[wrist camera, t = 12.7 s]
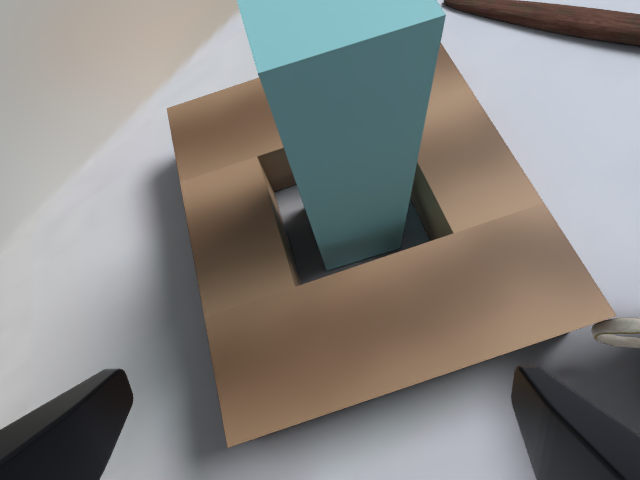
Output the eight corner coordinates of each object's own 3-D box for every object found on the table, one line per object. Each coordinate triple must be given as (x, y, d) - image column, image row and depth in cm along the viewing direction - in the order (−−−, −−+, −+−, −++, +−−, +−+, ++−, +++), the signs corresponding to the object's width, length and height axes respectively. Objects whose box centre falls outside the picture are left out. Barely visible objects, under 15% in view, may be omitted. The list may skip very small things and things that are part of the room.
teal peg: (400, 248, 20) (445, 14, 8) (326, 270, 20) (257, 73, 8) (375, 184, 21) (380, -89, 9) (306, 205, 21) (225, -40, 9)
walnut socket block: (570, 331, 17) (616, 316, 14) (254, 438, 17) (227, 447, 14) (419, 72, 24) (427, 21, 21) (194, 147, 24) (166, 108, 21)
